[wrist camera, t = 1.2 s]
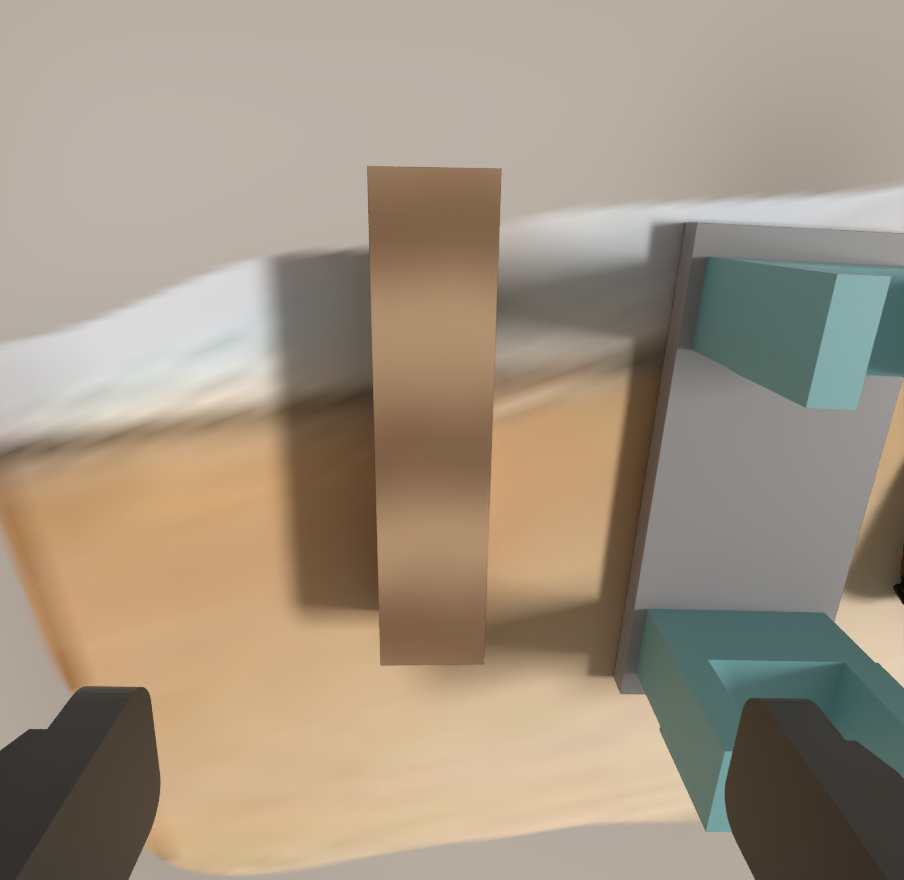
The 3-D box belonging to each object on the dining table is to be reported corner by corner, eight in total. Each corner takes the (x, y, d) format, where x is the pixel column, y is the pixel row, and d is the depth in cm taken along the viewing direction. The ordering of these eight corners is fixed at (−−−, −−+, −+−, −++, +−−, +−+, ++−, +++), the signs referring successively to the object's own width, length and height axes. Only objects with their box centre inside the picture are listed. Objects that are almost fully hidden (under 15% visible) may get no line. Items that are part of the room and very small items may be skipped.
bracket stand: (685, 222, 21) (830, 223, 14) (920, 235, 21) (1189, 243, 14) (613, 676, 27) (686, 856, 19) (799, 680, 27) (943, 857, 20)
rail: (376, 174, 21) (367, 166, 17) (489, 177, 21) (501, 168, 17) (386, 606, 26) (380, 665, 22) (476, 605, 26) (484, 664, 22)
